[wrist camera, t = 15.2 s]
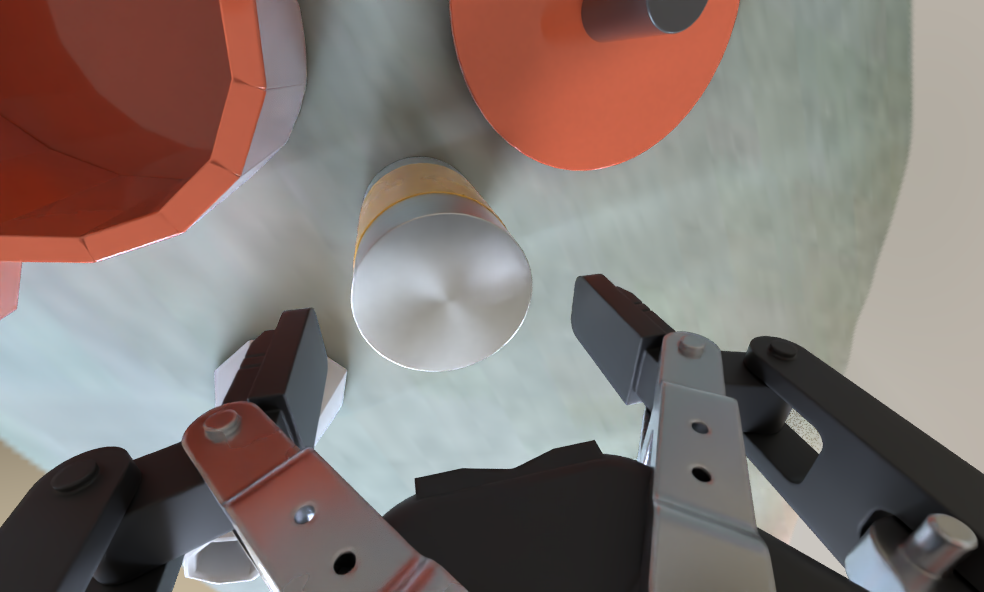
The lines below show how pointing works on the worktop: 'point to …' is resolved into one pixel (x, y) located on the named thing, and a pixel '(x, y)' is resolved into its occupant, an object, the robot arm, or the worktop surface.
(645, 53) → the lid
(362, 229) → the can
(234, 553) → the flask
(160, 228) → the pot
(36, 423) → the worktop surface
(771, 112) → the worktop surface
